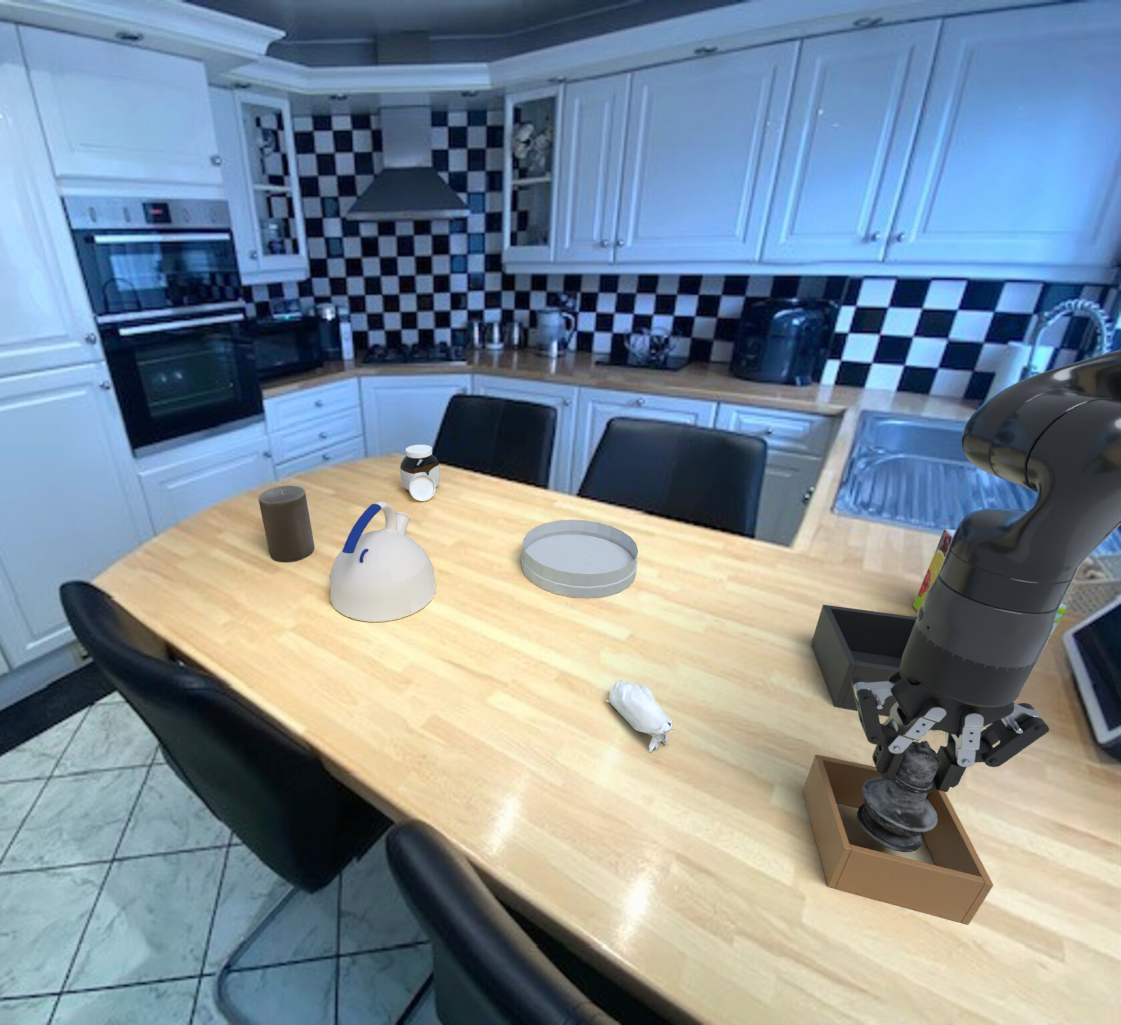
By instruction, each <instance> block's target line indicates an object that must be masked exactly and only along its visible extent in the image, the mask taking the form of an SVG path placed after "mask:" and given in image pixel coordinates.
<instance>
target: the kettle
mask: <svg viewBox="0 0 1121 1025" xmlns="http://www.w3.org/2000/svg"><path fill="white" fill-rule="evenodd" d="M380 511H382V512H383V514H384V522H385V524H384V526H385V527H384V528H382V529H378V530H371V531H368V532H365V533H364V531H365V529H366V528H367V527H368V525H369V523H370V522H371V521H372V520H373V518H374V517H375V516H376V515H377V514H378V513H379V512H380ZM410 521H411V518H410V516H409V514H406V513H404V512H401V511H396V510H395V508H393V506H392V505H391V504H390V503H387V502H385V501H377V502H375V503H372V504H370V505H369V506H368V507H367V508H366V509H365V510H364V511H363V513H362V514H361V515H360V516H359V518H358V519H357V521H356V522H355V523H354V525H353V526H352V528H351V530H350V532H349V534H348V535H347V538H346V540H345V542H344V545H343V548H342V549H341V551H340V552H338V553H339V554H337V556H336V557H335V559H334V562H333V564H332V567H331V571H330V573H329V600H330V604H332V606H333V609H335V610H336V611H337V612H339V613H340V614H341V615H343V616H345V617H348V618H350V619H353V620H355V621H360V622H368V623H385V622H390V621H391V622H392V621H395V620H396V621H397V620H400V619H403V618H407V617H409V616H412V615H413V614H415V613H417V612H419V611H421V610H422V609H424V608H425V607H426V606H427V605H428V604H429V603H431V601H432V600H433V599H434V596H435V595H436V593H437V586H438V584H437V582H436V576H435V570H434V565H433V563H432V561H431V559H430V557H429V555H428V554H427V552H426V550H425V549H424V548H423V547H422V546H421V545H420V544H419V543H418V542H416V541H415V540H414V539H413V538H412V537H410V536H407V535H406V533H407V529H408V526H409V522H410Z"/></svg>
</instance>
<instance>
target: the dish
mask: <svg viewBox="0 0 1121 1025" xmlns="http://www.w3.org/2000/svg"><path fill="white" fill-rule="evenodd" d="M638 554H639V550H638V546H637V543H636V542H635V540H634V539H633V538H632V536H630V535H628V533H626V532H624V530H621V529H619V528H617V527H614V526H612V525H609V524H606V523H602V522H599V521H593V520H587V519H560V520H554V521H553V520H552V521H549V522H545V523H541V524H539V525H536V526H534V527H533V528H531V529H530V530H529V531H527V533H526V534H525V536H524V537H523V541H522V550H521V567H520V568H521V569H522V572H523V575H524V576H525V577H526V578H527V579H528V580H529V581H530V583H532V584H534V585H535V586H537V587H539V588H540V589H542V590H544V591H546V592H550V593H551V594H555V595H559V596H564V597H569V598H578V599H597V598H605V597H609V596H612V595H617V594H619V593H621V592H623V591H624V590H626V589H628V588H629V587H630V586H631V585H632V584H633V583H634V582H635V579H636V576H637V571H638V565H639V564H638Z"/></svg>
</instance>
